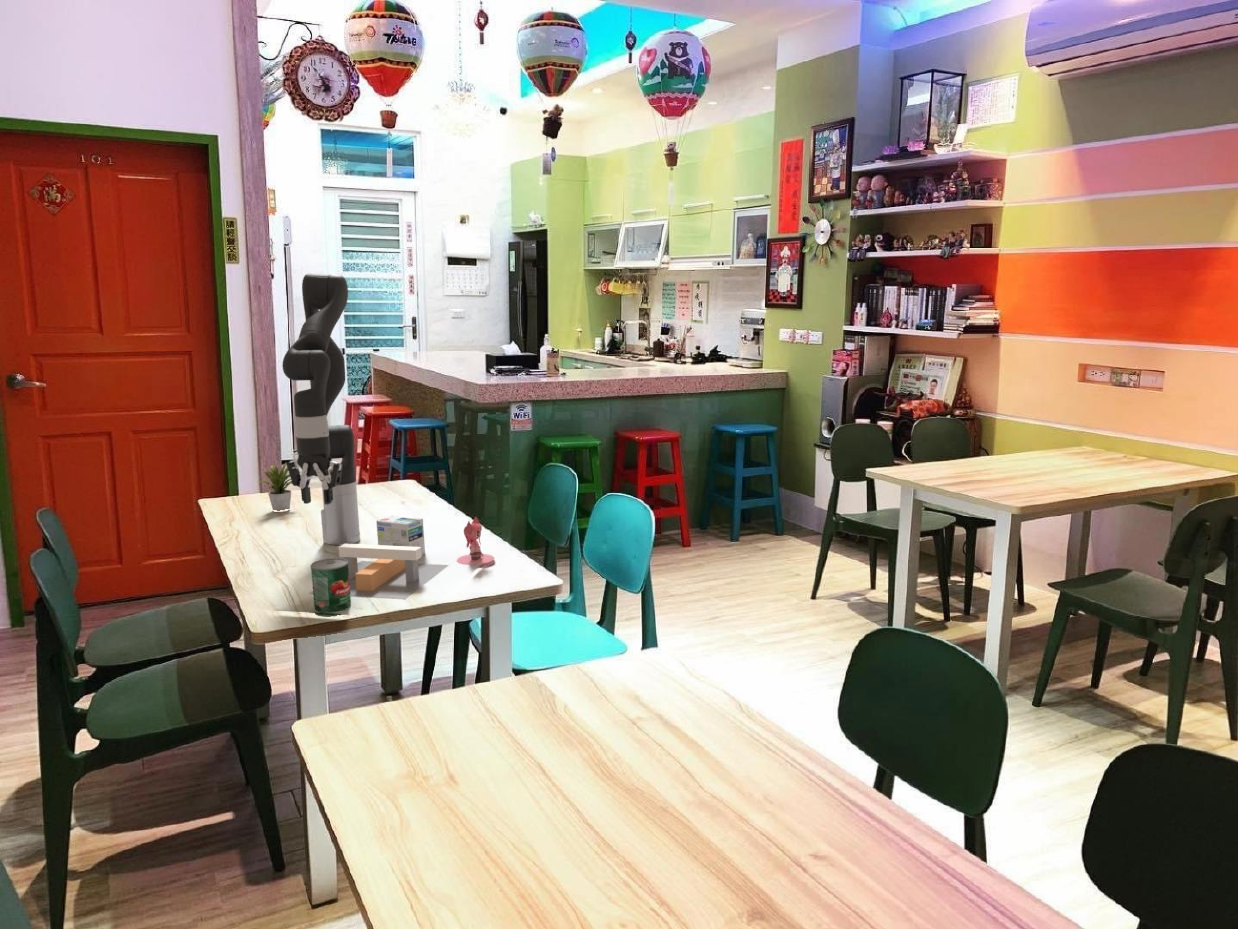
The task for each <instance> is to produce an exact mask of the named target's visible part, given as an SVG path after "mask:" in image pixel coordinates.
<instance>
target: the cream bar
mask: <svg viewBox="0 0 1238 929" xmlns="http://www.w3.org/2000/svg"><path fill="white" fill-rule="evenodd" d="M338 556H339V557H338V558H344V557H352V558H357V559H374V560H375V559H376V560H378V559H393V560H414V561H417V560H418V561H419V559H421V558H422V556H423V555H421V547H410V546H387V545H378V544H360V543H359V544H358V543H351V544H343V545H339V546H338Z"/></svg>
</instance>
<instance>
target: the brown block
mask: <svg viewBox="0 0 1238 929" xmlns="http://www.w3.org/2000/svg"><path fill="white" fill-rule="evenodd" d="M403 569H405V560H393V559H376V560H375V562H373V563H372V564H370V565H369V566H367V567H365V568H364V569H362V570H361V571H359V572H358V573H356V574H355V575H356V589H357V590H362V591H373V590H375V589H376V588H378V587H379V586H380V585H382V584H383V583H385V582H386V581H387V580H389V579H390V578H392V577H393V576H395V575H396V574H397V573H399V572H400V571H402V570H403Z"/></svg>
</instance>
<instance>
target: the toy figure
mask: <svg viewBox="0 0 1238 929" xmlns="http://www.w3.org/2000/svg"><path fill="white" fill-rule="evenodd" d="M463 535H464V538H465V540H466V542H467V543H466V549H468V548H469V552H470V553H469V554H465V555H462V556H460V557H458V558H457V559H456V562H457V563H458V564H461V565H466V566H475V565H476V566H477V565H479V566H477V569H480V568H485V567H489V566H491V565H494V564H495V557H494V556H493V555H491V554H487V553H483V552H482V551H481V545H482V544H481V536H482V525H481V523H480V520H479V519H478V517H477V516H475V517H474V519H473V520H472V522H470V521H469V520H468V521H467V524H466V526H464V529H463Z"/></svg>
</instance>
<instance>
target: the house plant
mask: <svg viewBox="0 0 1238 929" xmlns="http://www.w3.org/2000/svg"><path fill="white" fill-rule="evenodd" d="M273 463H274V465H272V464H270V467H269V469H270V471H269V470H264V469H261V471H262V472H263V475H265V476H266V477H267V478H268V479H269V480H270V482H271V483H270V482H268V481H265V480H259V483H262V484H263V483H264V484H266V485H268V490H269V489H272V491H269V492H268V493H267V494H268V498H269V501H270V505H271V507H272V508H271V509H272V511H273V510H277V511H280V510H285V509H291V499H292V490H290V489H287V488H288V487H289V486H290V485H293V483H292V480H291V477H290V474H289V471H288V468H287V462H285V463H284V464H283V466H282V468H281V470H280V471H279V469H278V466H277V463H276V462H275V461H274V462H273ZM299 472H300V474H302V471H299Z"/></svg>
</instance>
